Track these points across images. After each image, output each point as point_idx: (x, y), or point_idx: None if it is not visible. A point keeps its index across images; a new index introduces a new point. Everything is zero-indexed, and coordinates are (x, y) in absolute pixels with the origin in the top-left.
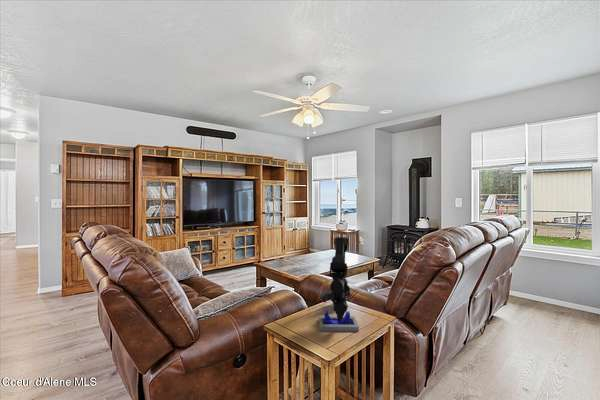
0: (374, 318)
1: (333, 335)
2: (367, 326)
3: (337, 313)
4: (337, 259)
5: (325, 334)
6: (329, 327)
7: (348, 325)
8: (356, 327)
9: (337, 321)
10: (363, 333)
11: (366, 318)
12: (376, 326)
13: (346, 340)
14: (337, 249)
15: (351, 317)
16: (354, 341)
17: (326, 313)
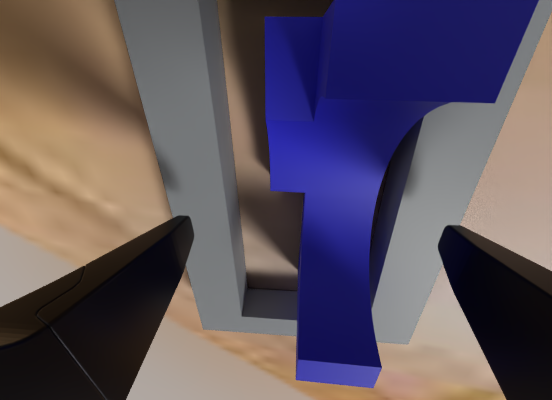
0: (399, 395)
1: (82, 114)
2: (289, 349)
3: (2, 327)
4: None
5: (65, 17)
6: (142, 83)
7: (217, 277)
8: (201, 314)
9: (341, 197)
10: (189, 315)
11: (410, 369)
12: (290, 378)
13: (46, 209)
14: None
15: (388, 324)
16: (60, 253)
17: (330, 47)
